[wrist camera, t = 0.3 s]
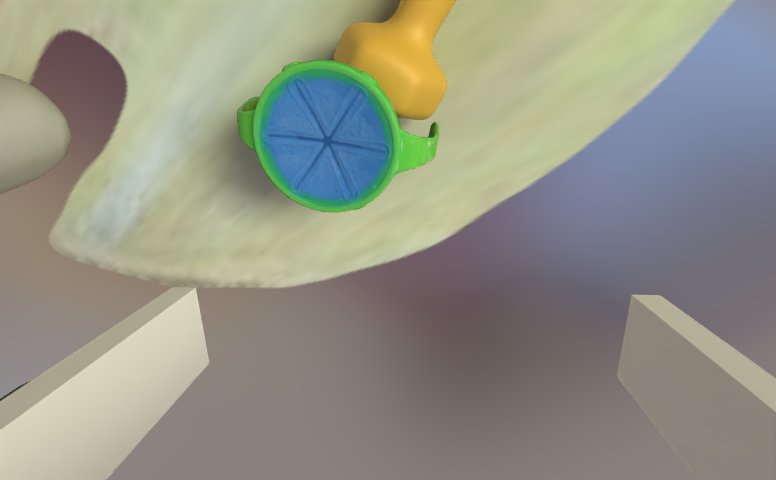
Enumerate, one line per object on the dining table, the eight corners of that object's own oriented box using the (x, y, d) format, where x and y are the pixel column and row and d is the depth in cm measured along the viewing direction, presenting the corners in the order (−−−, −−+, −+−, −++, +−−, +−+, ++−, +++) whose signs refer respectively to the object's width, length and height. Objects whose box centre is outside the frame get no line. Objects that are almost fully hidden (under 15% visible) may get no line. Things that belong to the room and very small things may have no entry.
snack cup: (454, 76, 33) (456, 94, 24) (422, 188, 38) (414, 237, 29) (277, 30, 33) (214, 32, 24) (270, 148, 38) (216, 185, 29)
